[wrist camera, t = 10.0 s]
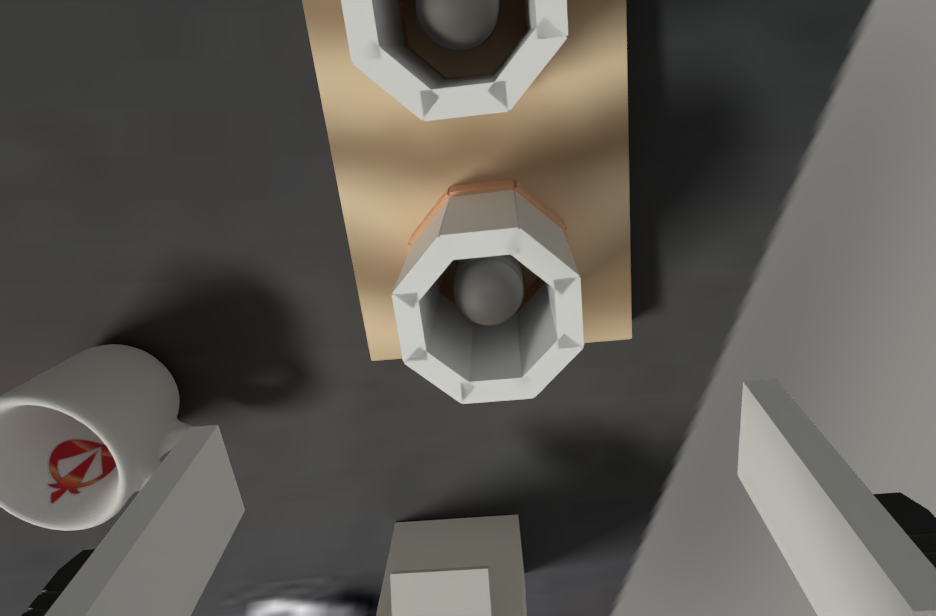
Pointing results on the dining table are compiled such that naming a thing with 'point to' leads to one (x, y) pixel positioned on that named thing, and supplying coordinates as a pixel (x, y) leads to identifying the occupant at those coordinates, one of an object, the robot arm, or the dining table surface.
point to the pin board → (484, 156)
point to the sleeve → (503, 345)
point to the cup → (86, 436)
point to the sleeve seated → (422, 86)
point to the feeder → (455, 568)
